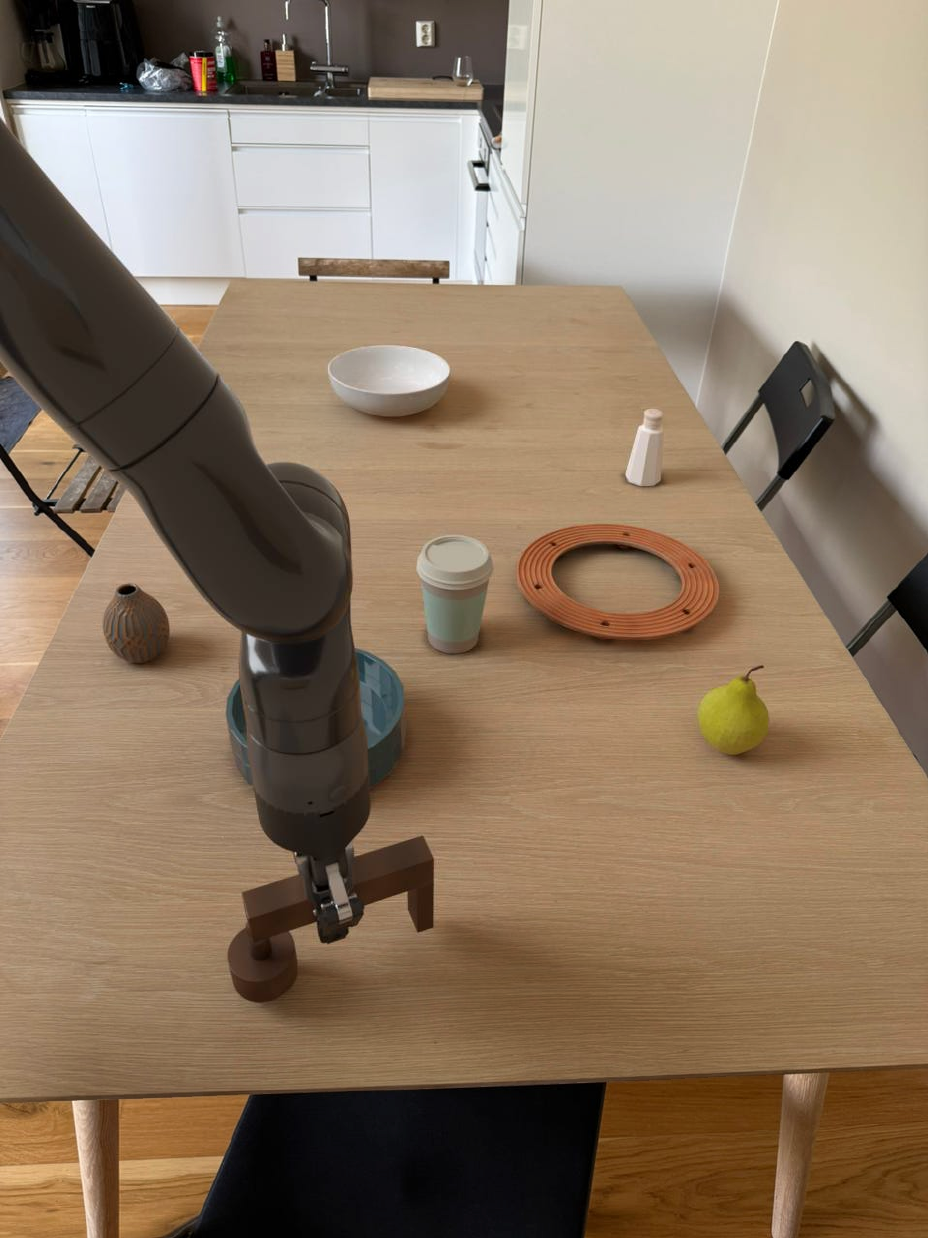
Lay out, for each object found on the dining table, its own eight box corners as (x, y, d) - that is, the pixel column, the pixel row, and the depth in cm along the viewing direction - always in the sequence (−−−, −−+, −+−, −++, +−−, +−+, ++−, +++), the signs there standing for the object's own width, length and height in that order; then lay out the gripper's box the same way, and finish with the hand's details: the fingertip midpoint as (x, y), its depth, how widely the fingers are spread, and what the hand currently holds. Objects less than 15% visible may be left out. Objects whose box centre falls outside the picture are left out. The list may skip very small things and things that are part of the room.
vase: (112, 637, 103) (95, 574, 98) (174, 629, 104) (161, 568, 99) (108, 675, 98) (90, 612, 92) (173, 667, 99) (159, 604, 94)
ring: (485, 554, 119) (485, 539, 117) (649, 523, 126) (652, 508, 125) (569, 672, 100) (571, 655, 99) (756, 627, 108) (761, 611, 106)
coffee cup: (503, 633, 106) (509, 548, 98) (462, 671, 100) (465, 584, 93) (444, 607, 109) (445, 523, 102) (402, 643, 104) (400, 557, 96)
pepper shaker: (639, 490, 134) (650, 422, 127) (618, 474, 138) (628, 407, 131) (667, 482, 136) (680, 415, 129) (646, 467, 140) (657, 401, 133)
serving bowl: (357, 440, 144) (355, 400, 140) (313, 392, 159) (310, 354, 154) (470, 418, 152) (472, 379, 148) (418, 373, 167) (418, 337, 162)
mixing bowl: (254, 830, 82) (246, 785, 78) (219, 708, 94) (211, 665, 90) (429, 779, 87) (429, 735, 83) (374, 671, 100) (373, 629, 96)
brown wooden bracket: (239, 1013, 66) (222, 944, 61) (226, 956, 70) (209, 886, 64) (439, 941, 71) (440, 872, 66) (417, 891, 75) (417, 822, 69)
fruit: (681, 724, 94) (703, 636, 87) (740, 716, 95) (766, 628, 88) (709, 772, 89) (735, 682, 82) (771, 762, 90) (802, 673, 83)
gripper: (230, 709, 61) (259, 865, 72) (277, 865, 51) (303, 1020, 62) (336, 683, 64) (349, 837, 74) (400, 827, 54) (405, 982, 64)
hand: (328, 919), depth 68 cm, fingers closed on brown wooden bracket, 2 cm apart
